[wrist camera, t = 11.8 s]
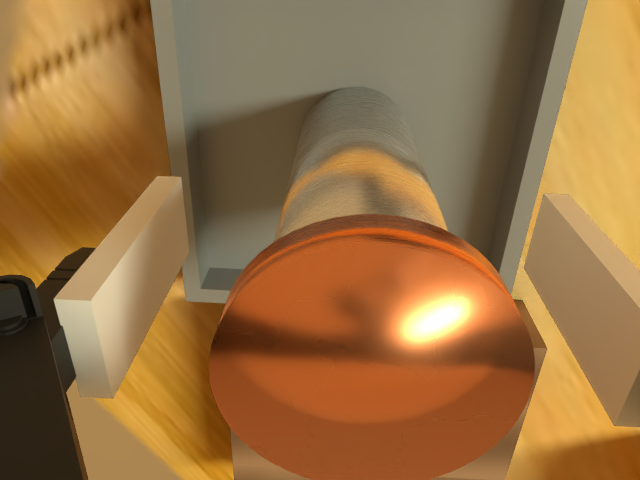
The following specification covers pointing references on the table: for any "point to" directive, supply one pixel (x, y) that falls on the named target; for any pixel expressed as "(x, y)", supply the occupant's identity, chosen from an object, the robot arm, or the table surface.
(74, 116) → the table surface
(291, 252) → the copper-capped cylinder
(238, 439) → the socket block
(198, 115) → the tray
